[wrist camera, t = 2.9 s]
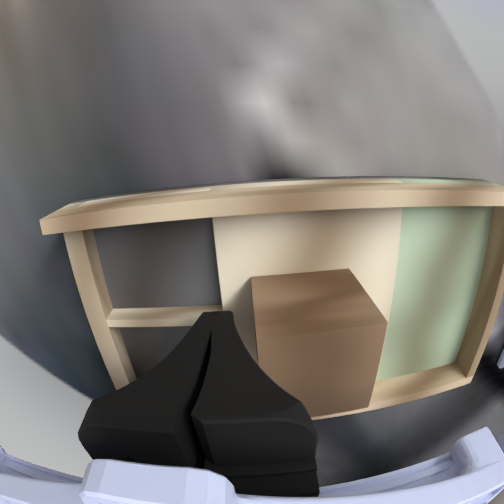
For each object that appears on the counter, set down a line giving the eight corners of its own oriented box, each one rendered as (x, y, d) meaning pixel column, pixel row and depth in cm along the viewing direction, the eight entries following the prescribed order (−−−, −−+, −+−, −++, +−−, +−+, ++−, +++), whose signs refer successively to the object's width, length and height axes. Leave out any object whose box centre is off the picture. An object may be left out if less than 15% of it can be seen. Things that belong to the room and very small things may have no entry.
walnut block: (348, 268, 13) (387, 322, 9) (341, 345, 14) (368, 407, 10) (250, 276, 13) (256, 338, 9) (256, 355, 14) (262, 422, 10)
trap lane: (482, 179, 13) (522, 193, 10) (447, 352, 17) (470, 383, 14) (75, 200, 13) (39, 219, 10) (129, 383, 17) (115, 421, 14)
